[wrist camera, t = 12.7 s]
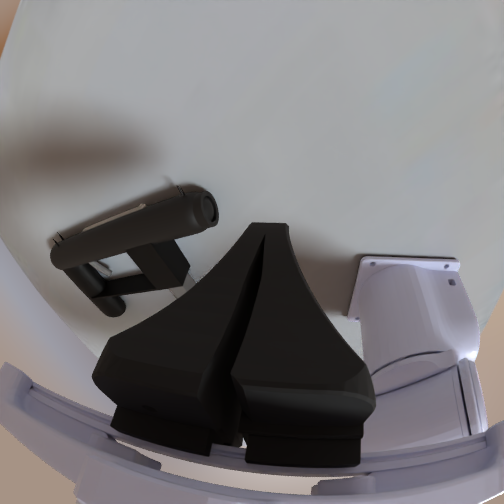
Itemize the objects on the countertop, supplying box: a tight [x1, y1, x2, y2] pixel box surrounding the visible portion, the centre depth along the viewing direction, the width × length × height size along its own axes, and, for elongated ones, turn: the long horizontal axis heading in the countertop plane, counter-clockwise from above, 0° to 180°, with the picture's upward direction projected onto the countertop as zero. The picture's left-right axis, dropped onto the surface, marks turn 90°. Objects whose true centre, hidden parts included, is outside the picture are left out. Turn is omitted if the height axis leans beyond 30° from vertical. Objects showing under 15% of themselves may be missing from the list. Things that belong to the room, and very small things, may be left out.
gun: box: [50, 186, 219, 317], centre depth 27 cm, size 3×20×16 cm
